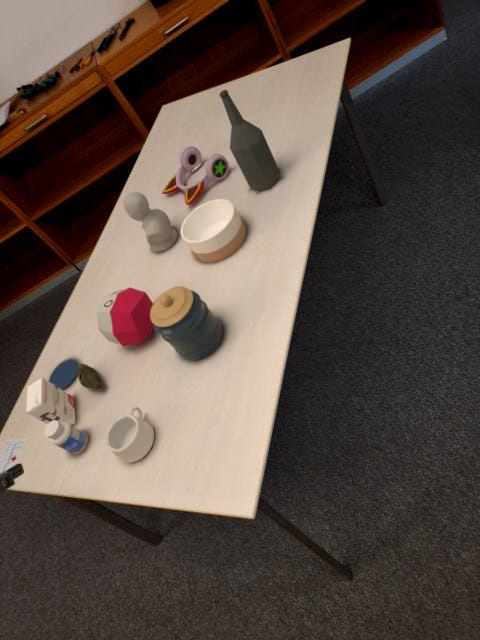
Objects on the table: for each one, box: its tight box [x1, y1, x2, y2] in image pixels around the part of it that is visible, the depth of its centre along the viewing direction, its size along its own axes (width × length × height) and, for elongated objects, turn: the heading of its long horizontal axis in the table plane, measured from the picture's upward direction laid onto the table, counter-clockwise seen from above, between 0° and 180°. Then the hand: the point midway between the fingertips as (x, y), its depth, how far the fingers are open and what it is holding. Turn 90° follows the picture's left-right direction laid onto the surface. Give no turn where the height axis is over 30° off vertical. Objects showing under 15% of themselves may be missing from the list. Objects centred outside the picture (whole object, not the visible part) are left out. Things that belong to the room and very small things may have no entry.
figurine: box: [122, 191, 178, 253], centre depth 136 cm, size 9×13×20 cm
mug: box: [105, 406, 155, 463], centre depth 99 cm, size 12×10×6 cm
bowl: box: [180, 198, 247, 263], centre depth 128 cm, size 17×17×8 cm
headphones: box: [161, 146, 230, 207], centre depth 152 cm, size 20×10×20 cm
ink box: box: [25, 377, 76, 426], centre depth 112 cm, size 8×5×12 cm, turn 20°
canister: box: [150, 285, 224, 361], centre depth 104 cm, size 13×13×18 cm
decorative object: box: [96, 287, 154, 347], centre depth 117 cm, size 15×15×15 cm
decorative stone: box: [77, 363, 104, 390], centre depth 117 cm, size 11×8×5 cm
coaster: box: [48, 358, 80, 391], centre depth 125 cm, size 10×10×1 cm
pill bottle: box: [43, 420, 89, 455], centre depth 104 cm, size 6×5×10 cm
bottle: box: [219, 89, 280, 192], centre depth 128 cm, size 10×10×30 cm
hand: (5, 470), depth 89 cm, fingers open, 8 cm apart
